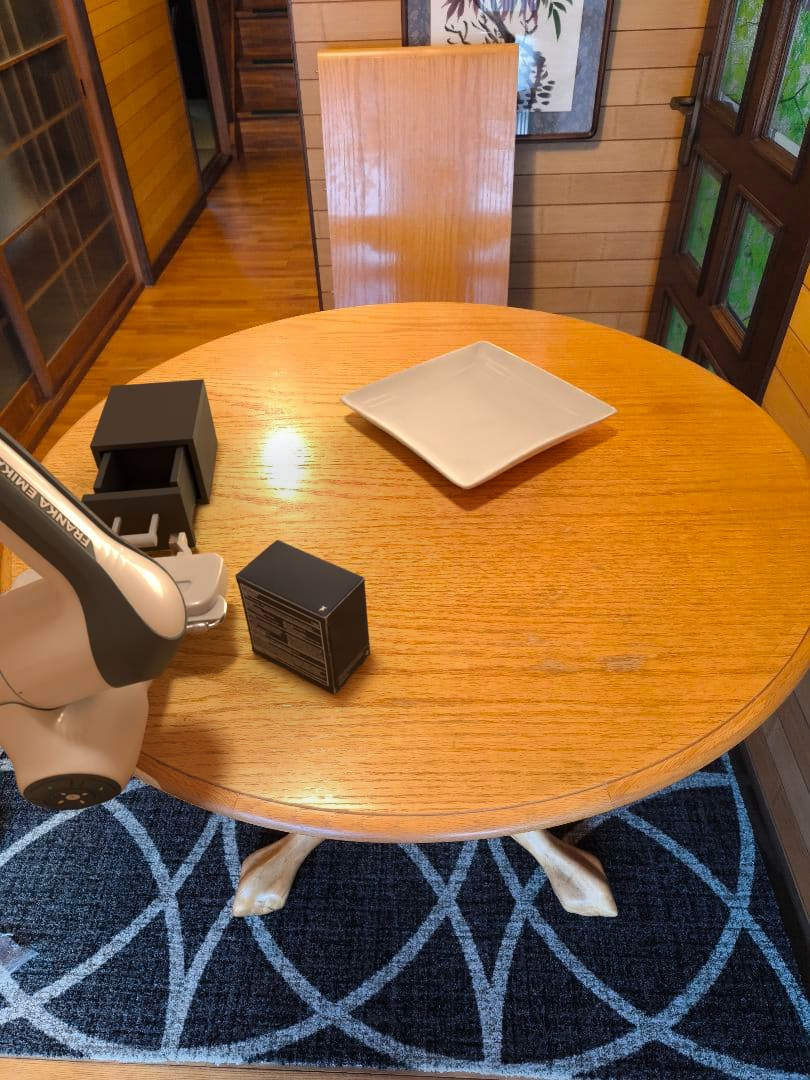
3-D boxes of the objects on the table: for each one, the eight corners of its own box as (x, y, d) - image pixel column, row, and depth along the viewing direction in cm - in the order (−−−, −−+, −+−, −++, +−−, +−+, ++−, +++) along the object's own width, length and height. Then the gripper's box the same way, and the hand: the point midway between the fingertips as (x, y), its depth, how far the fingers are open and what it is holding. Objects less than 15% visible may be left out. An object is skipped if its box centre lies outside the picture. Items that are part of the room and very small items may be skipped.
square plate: (617, 432, 103) (621, 407, 101) (463, 512, 91) (464, 487, 88) (483, 357, 120) (484, 334, 117) (337, 417, 107) (335, 393, 105)
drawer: (191, 576, 83) (175, 521, 77) (93, 585, 82) (70, 530, 77) (205, 481, 95) (192, 428, 90) (120, 488, 95) (102, 435, 90)
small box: (374, 651, 75) (369, 575, 68) (335, 697, 71) (325, 621, 64) (291, 610, 80) (277, 535, 73) (249, 651, 76) (231, 575, 69)
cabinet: (209, 503, 93) (193, 438, 87) (112, 511, 93) (89, 446, 86) (217, 441, 104) (203, 378, 97) (130, 448, 103) (111, 385, 96)
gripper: (218, 606, 69) (228, 509, 79) (-17, 628, 67) (25, 526, 78) (230, 651, 73) (238, 554, 83) (10, 673, 71) (46, 571, 82)
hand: (133, 541), depth 80 cm, fingers open, 8 cm apart
